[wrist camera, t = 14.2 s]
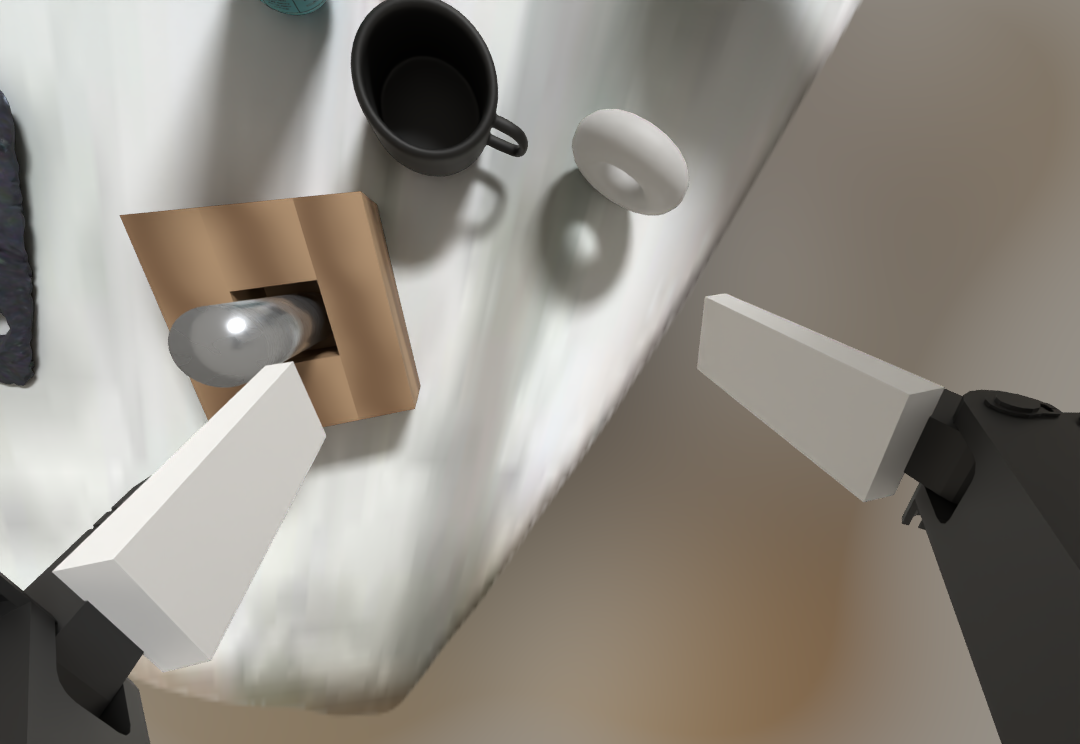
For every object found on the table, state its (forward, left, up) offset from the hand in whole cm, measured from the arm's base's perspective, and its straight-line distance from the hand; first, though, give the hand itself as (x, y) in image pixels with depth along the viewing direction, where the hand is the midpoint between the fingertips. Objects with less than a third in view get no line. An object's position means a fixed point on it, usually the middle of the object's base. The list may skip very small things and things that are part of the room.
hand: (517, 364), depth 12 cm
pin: (+13, -1, -23) cm, 27 cm away
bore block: (+13, -1, -24) cm, 28 cm away
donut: (-14, -9, -24) cm, 29 cm away
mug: (-1, -14, -24) cm, 28 cm away
